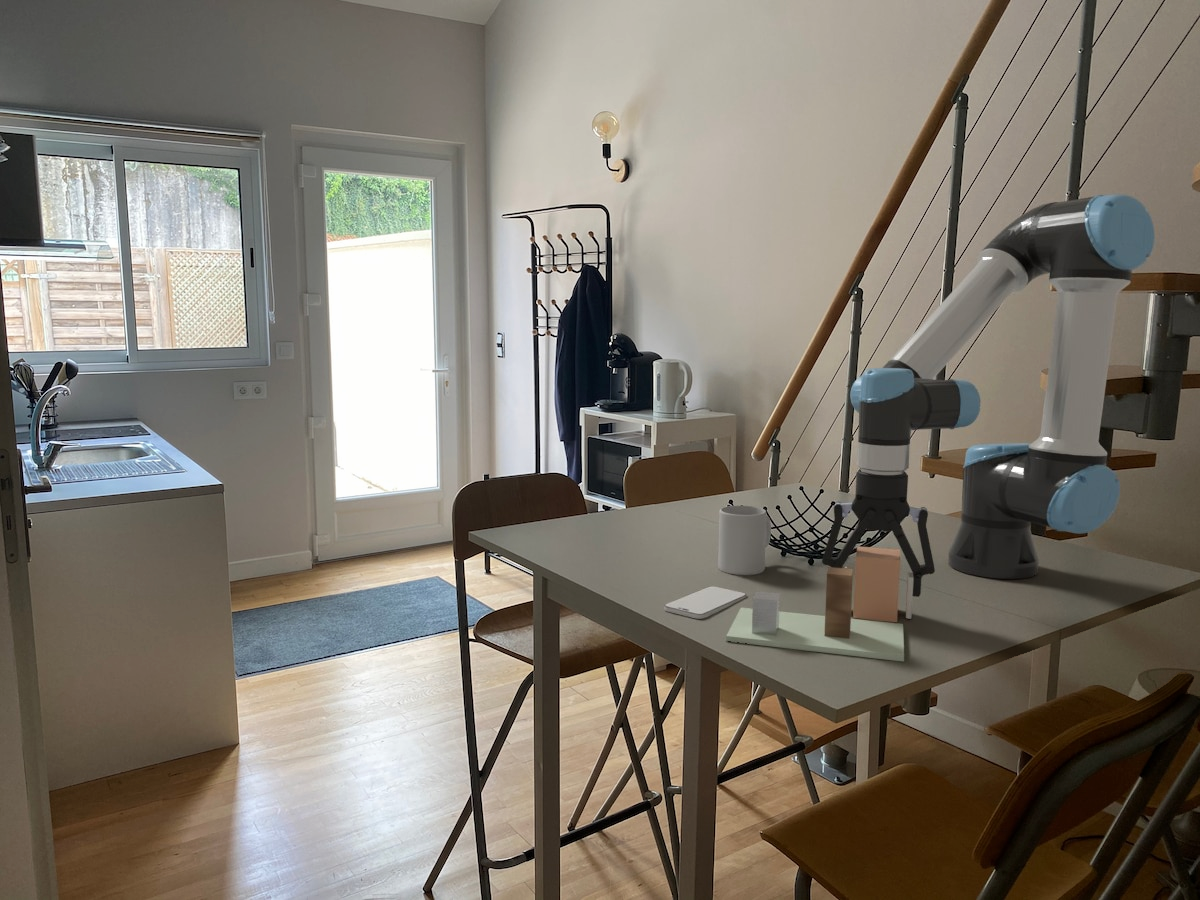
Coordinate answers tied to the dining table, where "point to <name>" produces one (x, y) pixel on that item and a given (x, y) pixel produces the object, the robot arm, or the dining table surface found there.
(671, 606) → the smartphone
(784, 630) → the board
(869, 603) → the peach rectangular block
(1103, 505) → the robot arm
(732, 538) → the mug
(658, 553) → the dining table surface
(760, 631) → the grey post
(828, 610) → the walnut post
